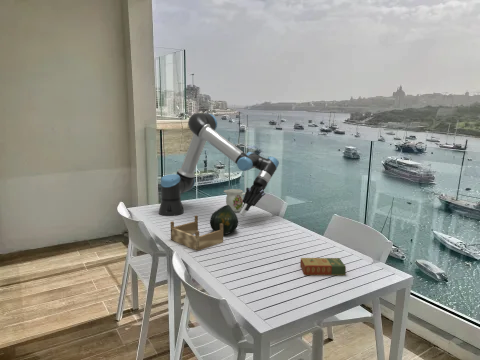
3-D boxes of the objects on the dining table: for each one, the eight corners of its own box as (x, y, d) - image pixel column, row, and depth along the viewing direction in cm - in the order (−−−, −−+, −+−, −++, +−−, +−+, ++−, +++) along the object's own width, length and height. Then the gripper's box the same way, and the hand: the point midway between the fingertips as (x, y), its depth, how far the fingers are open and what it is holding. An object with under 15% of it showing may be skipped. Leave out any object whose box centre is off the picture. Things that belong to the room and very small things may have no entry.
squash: (203, 226, 174) (223, 204, 173) (206, 218, 189) (225, 198, 187) (224, 244, 175) (244, 223, 174) (226, 235, 190) (244, 216, 188)
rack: (170, 239, 171) (170, 221, 169) (196, 232, 182) (196, 215, 181) (197, 250, 157) (197, 231, 156) (223, 241, 168) (223, 223, 167)
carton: (300, 267, 142) (300, 257, 141) (339, 266, 142) (339, 257, 142) (304, 276, 134) (304, 265, 133) (345, 276, 134) (346, 265, 133)
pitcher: (252, 210, 224) (252, 189, 221) (228, 214, 214) (228, 192, 212) (243, 206, 233) (243, 186, 230) (219, 210, 223) (219, 189, 221)
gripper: (273, 186, 197) (253, 220, 188) (256, 182, 205) (236, 216, 197) (267, 178, 192) (247, 213, 183) (250, 175, 201) (229, 208, 192)
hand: (241, 214), depth 190 cm, fingers closed
